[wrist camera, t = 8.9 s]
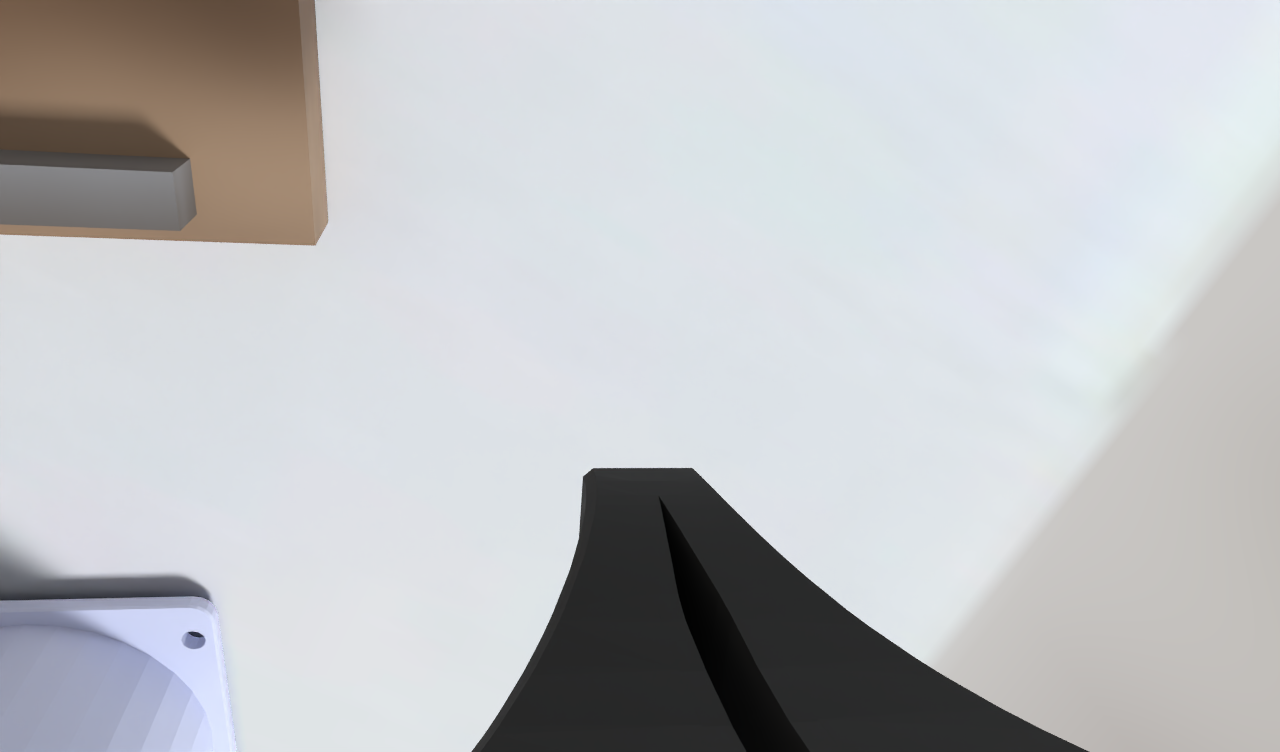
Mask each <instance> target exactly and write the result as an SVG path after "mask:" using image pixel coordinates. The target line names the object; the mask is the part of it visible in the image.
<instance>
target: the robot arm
mask: <svg viewBox="0 0 1280 752" xmlns="http://www.w3.org/2000/svg"><path fill="white" fill-rule="evenodd" d="M191 631H194V632H199V633H200V634H202V635H204V637H200V638H199V637H193V636H192V635H190V634H189V633H188V632H191ZM0 752H237V747H236V739H235V732H234V725H233V718H232V711H231V704H230V696H229V689H228V682H227V675H226V668H225V660H224V653H223V646H222V639H221V632H220V625H219V617H218V612H217V609H216V607H215V606H214V605H213V604H212V603H211V602H210V601H208V600H206V599H204V598H202V597H194V596H184V597H140V598H96V599H52V600H8V601H0ZM472 752H1088V751H1086V750H1084V749H1082V748H1080V747H1078V746H1076V745H1074V744H1072V743H1069V742H1067V741H1065V740H1063V739H1061V738H1059V737H1057V736H1055V735H1053V734H1050V733H1048V732H1046V731H1044V730H1042V729H1040V728H1038V727H1036V726H1034V725H1032V724H1030V723H1028V722H1026V721H1024V720H1023V719H1020V718H1019V717H1017V716H1015V715H1013V714H1011V713H1009V712H1007V711H1005V710H1003V709H1001V708H999V707H998V706H996V705H994V704H992V703H991V702H989V701H987V700H985V699H984V698H982V697H980V696H978V695H977V694H975V693H973V692H971V691H970V690H968V689H966V688H964V687H963V686H961V685H959V684H957V683H956V682H954V681H952V680H950V679H949V678H947V677H945V676H943V675H942V674H940V673H939V672H937V671H935V670H934V669H932V668H931V667H929V666H927V665H926V664H924V663H922V662H921V661H919V660H918V659H916V658H915V657H913V656H912V655H910V654H909V653H907V652H906V651H904V650H903V649H901V648H900V647H898V646H897V645H896V644H894V643H893V642H891V641H890V640H888V639H887V638H885V637H884V636H882V635H881V634H879V633H878V632H877V631H875V630H874V629H872V628H871V627H869V626H868V625H866V624H865V623H864V622H862V621H861V620H860V619H858V618H857V617H856V616H854V615H853V614H852V613H850V612H849V611H848V610H846V609H845V608H844V607H843V606H841V605H840V604H839V603H838V602H836V601H835V600H834V599H833V598H832V597H830V596H829V595H828V594H827V593H825V592H824V591H823V590H822V589H820V588H819V587H818V586H817V585H816V584H814V583H813V582H812V581H811V580H809V579H808V578H807V577H806V576H805V575H804V574H802V573H801V572H800V571H799V570H798V569H797V568H795V567H794V566H793V565H792V564H791V563H790V562H789V561H788V560H786V559H785V558H784V557H783V556H782V555H781V554H780V553H779V552H778V551H776V550H775V549H774V548H773V547H772V546H771V545H770V544H769V543H768V542H767V541H766V540H765V539H764V538H763V537H761V536H760V535H759V534H758V533H757V532H756V531H755V530H754V529H753V528H752V527H751V526H750V525H749V524H748V523H747V522H746V521H745V520H744V519H743V518H742V517H741V516H740V515H739V514H738V513H737V512H736V511H735V510H734V509H733V508H732V507H731V506H730V505H729V504H728V503H727V502H726V501H725V500H724V499H723V498H722V497H721V496H720V495H719V494H718V493H717V492H716V491H715V490H714V489H713V488H712V487H711V486H710V485H709V484H708V483H707V482H706V481H705V480H704V479H703V478H702V477H701V476H700V475H699V474H698V473H697V472H696V471H695V470H694V469H693V468H593V469H592V470H591V471H589V472H588V473H587V474H586V475H585V476H583V486H582V502H581V517H580V532H579V540H578V544H577V548H576V551H575V555H574V558H573V562H572V565H571V568H570V571H569V574H568V576H567V579H566V582H565V584H564V587H563V589H562V592H561V594H560V597H559V599H558V602H557V604H556V607H555V609H554V612H553V614H552V617H551V619H550V621H549V623H548V625H547V627H546V630H545V632H544V634H543V636H542V638H541V640H540V642H539V644H538V646H537V648H536V650H535V652H534V654H533V655H532V657H531V659H530V661H529V663H528V665H527V667H526V669H525V670H524V672H523V674H522V676H521V677H520V679H519V681H518V682H517V684H516V686H515V687H514V689H513V691H512V692H511V694H510V695H509V697H508V699H507V700H506V702H505V704H504V705H503V707H502V709H501V710H500V712H499V713H498V715H497V716H496V718H495V720H494V721H493V723H492V724H491V726H490V727H489V729H488V730H487V731H486V733H485V734H484V736H483V737H482V739H481V740H480V741H479V743H478V744H477V745H476V747H475V748H474V749H473V750H472Z"/></svg>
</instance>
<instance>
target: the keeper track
mask: <svg viewBox="0 0 1280 752" xmlns="http://www.w3.org/2000/svg"><path fill="white" fill-rule="evenodd" d="M327 223H328V212H327V196H326V180H325V163H324V147H323V131H322V115H321V99H320V83H319V67H318V50H317V34H316V18H315V2H314V0H0V234H3V235H32V236H60V237H89V238H117V239H146V240H174V241H203V242H232V243H260V244H289V245H316V243H317V241H318V240H319V238H320V236H321V234H322V232H323V231H324V229H325V227H326V225H327Z"/></svg>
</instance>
